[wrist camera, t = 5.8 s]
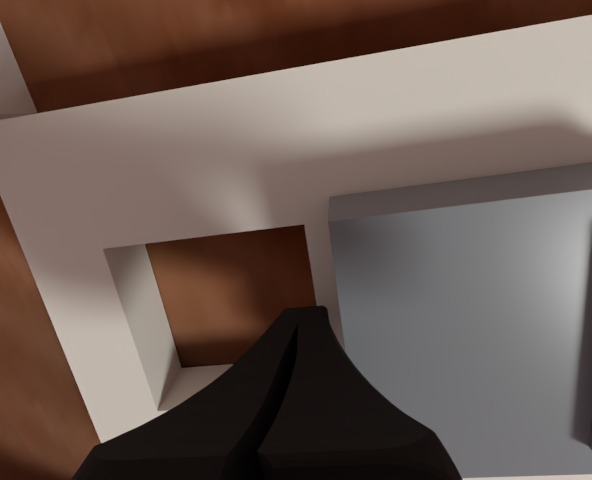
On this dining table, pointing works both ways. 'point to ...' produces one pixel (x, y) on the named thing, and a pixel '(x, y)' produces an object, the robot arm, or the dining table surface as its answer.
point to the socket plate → (265, 181)
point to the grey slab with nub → (477, 313)
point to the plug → (12, 85)
